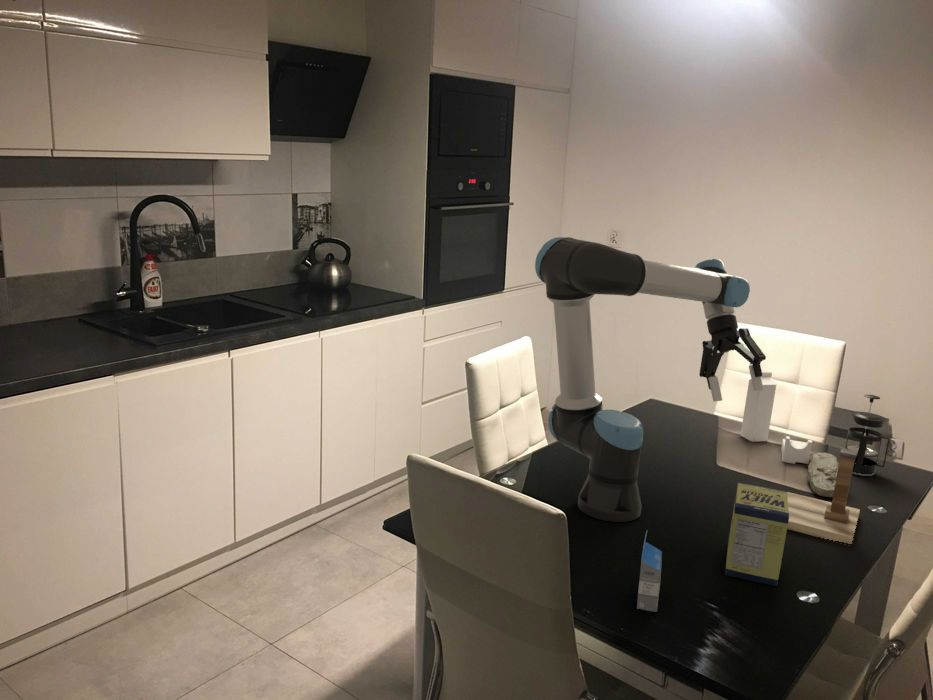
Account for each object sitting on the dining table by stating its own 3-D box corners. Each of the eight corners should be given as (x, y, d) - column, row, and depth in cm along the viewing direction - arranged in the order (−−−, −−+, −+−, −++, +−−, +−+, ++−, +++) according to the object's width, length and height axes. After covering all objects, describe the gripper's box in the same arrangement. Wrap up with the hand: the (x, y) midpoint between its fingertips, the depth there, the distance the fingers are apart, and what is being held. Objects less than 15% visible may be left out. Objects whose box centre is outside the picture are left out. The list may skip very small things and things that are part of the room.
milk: (767, 441, 256) (778, 375, 251) (751, 441, 254) (762, 375, 249) (755, 435, 261) (766, 370, 256) (739, 435, 260) (750, 370, 255)
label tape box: (656, 613, 148) (665, 552, 146) (634, 608, 150) (642, 548, 147) (658, 590, 157) (666, 532, 154) (637, 586, 158) (645, 529, 155)
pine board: (851, 545, 183) (852, 537, 183) (756, 520, 193) (757, 513, 193) (858, 516, 200) (860, 509, 200) (771, 495, 210) (772, 488, 210)
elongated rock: (840, 468, 240) (805, 463, 244) (842, 451, 240) (806, 446, 243) (848, 502, 208) (806, 496, 212) (850, 483, 207) (808, 477, 211)
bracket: (807, 466, 235) (812, 442, 234) (782, 462, 238) (786, 438, 236) (805, 453, 247) (809, 430, 246) (781, 449, 250) (784, 426, 248)
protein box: (776, 555, 176) (787, 489, 172) (777, 587, 161) (790, 516, 158) (727, 545, 179) (737, 480, 176) (724, 575, 165) (735, 505, 161)
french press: (836, 471, 233) (850, 395, 228) (839, 462, 241) (853, 388, 236) (881, 481, 227) (896, 403, 222) (883, 471, 235) (897, 396, 230)
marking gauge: (846, 524, 190) (859, 456, 186) (824, 518, 193) (836, 451, 189) (848, 517, 194) (861, 451, 191) (826, 511, 197) (838, 446, 193)
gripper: (768, 303, 203) (787, 384, 199) (695, 329, 224) (711, 404, 220) (748, 303, 199) (767, 386, 195) (676, 329, 220) (692, 405, 216)
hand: (737, 395), depth 207 cm, fingers open, 13 cm apart
